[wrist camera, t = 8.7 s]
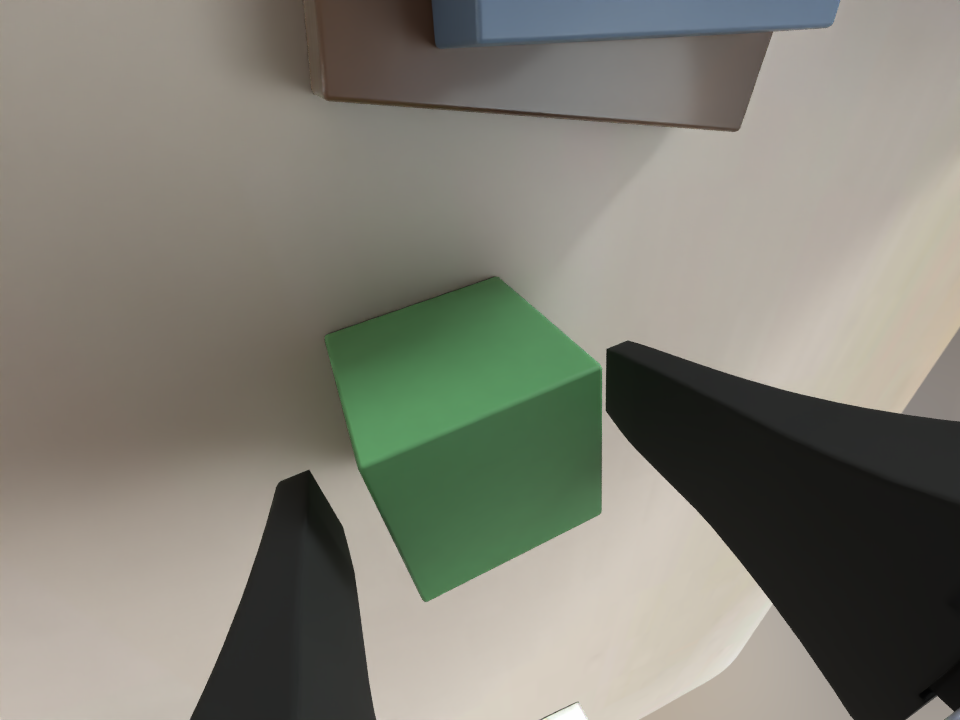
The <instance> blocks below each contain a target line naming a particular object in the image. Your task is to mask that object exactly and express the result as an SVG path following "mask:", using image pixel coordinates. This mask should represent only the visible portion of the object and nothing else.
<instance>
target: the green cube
mask: <svg viewBox="0 0 960 720" xmlns="http://www.w3.org/2000/svg"><path fill="white" fill-rule="evenodd" d="M325 343H326V347H327V351H328V355H329V359H330V363H331V366H332V370H333V374H334V378H335V382H336V386H337V390H338V393H339V397H340V401H341V405H342V409H343V413H344V417H345V421H346V424H347V428H348V432H349V436H350V440H351V444H352V448H353V451H354V455H355V459H356V463H357V467H358V470H359V472H360V474H361V476H362V478H363V480H364V482H365V484H366V486H367V488H368V490H369V492H370V494H371V496H372V498H373V500H374V502H375V504H376V506H377V508H378V510H379V512H380V514H381V516H382V519H383V521H384V523H385V525H386V527H387V529H388V531H389V533H390V535H391V537H392V539H393V541H394V543H395V545H396V547H397V549H398V551H399V553H400V555H401V557H402V559H403V561H404V563H405V565H406V567H407V570H408V572H409V574H410V576H411V578H412V580H413V582H414V584H415V586H416V588H417V590H418V592H419V594H420V596H421V598H422V600H423V601H424V602H428V601H430V600H432V599H434V598H436V597H438V596H440V595H441V594H443V593H445V592H447V591H449V590H451V589H453V588H455V587H457V586H459V585H461V584H463V583H465V582H467V581H469V580H471V579H473V578H475V577H477V576H479V575H481V574H483V573H485V572H487V571H489V570H491V569H493V568H495V567H497V566H499V565H501V564H503V563H505V562H507V561H509V560H511V559H513V558H515V557H517V556H519V555H521V554H523V553H525V552H527V551H529V550H531V549H533V548H535V547H536V546H538V545H540V544H542V543H544V542H546V541H548V540H550V539H552V538H554V537H556V536H558V535H560V534H562V533H564V532H566V531H568V530H570V529H572V528H574V527H576V526H578V525H580V524H582V523H584V522H586V521H588V520H590V519H592V518H594V517H596V516H598V515H600V513H601V510H602V368H601V365H600V364H599V363H598V362H597V361H595V360H594V359H593V358H592V357H591V356H590V355H589V354H587V353H586V352H585V351H584V350H583V349H582V348H580V347H579V346H578V345H577V344H576V343H575V342H573V341H572V340H571V339H570V338H569V337H568V336H566V335H565V334H564V333H563V332H562V331H561V330H559V329H558V328H557V327H556V326H555V325H554V324H552V323H551V322H550V321H549V320H548V319H547V318H546V317H544V316H543V315H542V314H541V313H540V312H539V311H537V310H536V309H535V308H534V307H533V306H532V305H530V304H529V303H528V302H527V301H526V300H525V299H523V298H522V297H521V296H520V295H519V294H518V293H516V292H515V291H514V290H513V289H512V288H511V287H509V286H508V285H507V284H506V283H505V282H504V281H503V280H501V279H500V278H499V277H493V278H490V279H488V280H485V281H482V282H479V283H476V284H473V285H470V286H467V287H464V288H461V289H458V290H455V291H453V292H450V293H447V294H444V295H441V296H438V297H435V298H432V299H429V300H426V301H423V302H421V303H418V304H415V305H412V306H409V307H406V308H403V309H400V310H397V311H394V312H391V313H389V314H386V315H383V316H380V317H377V318H374V319H371V320H368V321H365V322H362V323H359V324H356V325H354V326H351V327H348V328H345V329H342V330H339V331H336V332H333V333H330V334H327V335H326V336H325Z"/></svg>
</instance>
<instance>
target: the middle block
mask: <svg viewBox="0 0 960 720" xmlns="http://www.w3.org/2000/svg"><path fill="white" fill-rule="evenodd" d="M839 3H840V0H432V11H433V23H434V35H435V44H436V46H437V47H438V48H440V49H446V48H466V47H486V46H505V45H525V44H545V43H565V42H585V41H605V40H625V39H645V38H665V37H685V36H704V35H724V34H744V33H759V32H774V31H789V30H803V29H818V28H827V27H829V26H831V25H832V24H833V22H834V19H835V16H836V13H837V10H838V6H839Z"/></svg>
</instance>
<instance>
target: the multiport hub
mask: <svg viewBox="0 0 960 720" xmlns="http://www.w3.org/2000/svg"><path fill="white" fill-rule="evenodd" d="M542 720H588V718H587V716H586V714H585V712H584V710H583V708H582V706H581V704H580V703H575V704H573V705H571V706H569V707H567V708H565V709H563V710H561V711H559V712H557V713H555V714H552V715H550V716H548V717H546V718H544V719H542Z"/></svg>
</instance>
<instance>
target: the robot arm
mask: <svg viewBox="0 0 960 720" xmlns="http://www.w3.org/2000/svg"><path fill="white" fill-rule="evenodd" d="M606 412H607V413H608V415H609V416H610V417H611V419H612V420H613V421H614V423H615V424H616V425H617V427H618V428H619V429H620V431H621V432H622V433H623V435H624V436H625V437H626V438H627V440H628V441H629V442H630V443H631V444H632V445H633V446H634V447H635V449H636V450H637V451H638V452H639V453H640V454H641V455H642V456H643V457H644V458H645V459H646V460H647V461H648V462H649V463H650V464H651V465H652V466H653V467H654V468H655V469H656V470H657V471H658V472H659V473H660V474H661V475H662V476H663V477H664V478H665V479H666V480H667V481H668V482H669V483H670V484H671V485H672V486H673V487H674V488H675V489H676V490H677V491H678V492H679V493H680V494H681V495H682V496H683V497H684V498H685V499H686V500H687V501H688V502H689V503H690V504H691V505H692V506H693V507H694V508H695V509H696V510H697V511H698V512H699V513H700V514H701V515H702V517H703V518H704V519H705V520H706V521H707V522H708V523H709V524H710V525H711V526H712V528H713V529H714V530H715V531H716V532H717V534H718V535H719V536H720V537H721V539H722V540H723V541H724V542H725V543H726V545H727V546H728V547H729V548H730V550H731V551H732V552H733V553H734V554H735V556H736V557H737V558H738V559H739V560H740V562H741V563H742V564H743V566H744V567H745V568H746V569H747V571H748V572H749V573H750V575H751V576H752V577H753V578H754V580H755V581H756V582H757V584H758V585H759V586H760V587H761V589H762V590H763V591H764V593H765V594H766V595H767V596H768V598H769V599H770V600H771V602H772V603H773V605H774V606H775V607H776V609H777V610H778V611H779V613H780V614H781V616H782V617H783V618H784V620H785V621H786V622H787V624H788V625H789V626H790V628H791V629H792V631H793V632H794V633H795V635H796V636H797V637H798V639H799V640H800V641H801V643H802V644H803V646H804V647H805V649H806V650H807V652H808V653H809V655H810V656H811V657H812V659H813V660H814V662H815V663H816V665H817V666H818V668H819V669H820V671H821V672H822V673H823V675H824V677H825V678H826V679H827V681H828V682H829V683H830V685H831V687H832V688H833V689H834V691H835V693H836V694H837V696H838V697H839V699H840V700H841V702H842V704H843V705H844V707H845V708H846V710H847V711H848V713H849V714H850V716H851V717H852V718H853V719H854V720H906V719H907V718H909V717H910V716H911V715H913V714H914V713H915V712H917V711H918V710H919V709H921V708H922V707H923V706H924V705H926V704H927V703H929V702H930V701H931V700H933V699H934V698H935V697H937V696H938V697H939V698H940V699H941V700H943V702H945V703H946V704H947V705H948V706H949V707H950V708H951V709H952V710H953V711H954V712H953V713H952V714H951V715H950V716H948V717H947V718H946V719H944V720H960V422H957V421H948V420H940V419H932V418H926V417H918V416H911V415H904V414H898V413H892V412H886V411H880V410H874V409H868V408H862V407H857V406H852V405H847V404H842V403H837V402H832V401H828V400H824V399H819V398H815V397H810V396H806V395H801V394H797V393H793V392H789V391H785V390H782V389H778V388H774V387H771V386H767V385H764V384H760V383H757V382H753V381H750V380H746V379H743V378H740V377H737V376H733V375H730V374H727V373H724V372H721V371H718V370H715V369H712V368H709V367H706V366H703V365H700V364H697V363H694V362H691V361H688V360H685V359H682V358H680V357H677V356H674V355H671V354H668V353H665V352H662V351H659V350H656V349H654V348H651V347H648V346H645V345H641V344H638V343H635V342H631V341H625V342H623V343H620V344H618V345H615V346H613V347H610V348H608V349H607V353H606ZM190 720H376V717H375V713H374V708H373V702H372V697H371V691H370V685H369V678H368V670H367V663H366V655H365V647H364V640H363V632H362V625H361V617H360V609H359V602H358V595H357V587H356V580H355V573H354V568H353V564H352V560H351V556H350V552H349V548H348V544H347V540H346V537H345V533H344V529H343V526H342V524H341V523H340V521H339V519H338V518H337V516H336V514H335V513H334V511H333V509H332V507H331V506H330V504H329V502H328V501H327V499H326V497H325V496H324V494H323V492H322V491H321V489H320V487H319V485H318V484H317V482H316V480H315V479H314V477H313V475H312V474H311V472H310V470H307V471H305V472H302V473H300V474H297V475H295V476H292V477H290V478H287V479H285V480H282V481H280V482H279V483H278V485H277V487H276V490H275V494H274V497H273V501H272V505H271V508H270V512H269V516H268V519H267V523H266V526H265V529H264V533H263V536H262V539H261V542H260V546H259V549H258V552H257V555H256V558H255V561H254V564H253V567H252V570H251V573H250V576H249V579H248V582H247V585H246V588H245V590H244V593H243V596H242V599H241V601H240V604H239V606H238V609H237V611H236V614H235V617H234V619H233V622H232V624H231V627H230V629H229V632H228V634H227V637H226V640H225V642H224V645H223V647H222V650H221V652H220V654H219V657H218V659H217V661H216V664H215V666H214V668H213V671H212V673H211V675H210V677H209V680H208V682H207V684H206V686H205V689H204V691H203V693H202V695H201V697H200V699H199V701H198V704H197V706H196V708H195V710H194V712H193V714H192V716H191V718H190Z"/></svg>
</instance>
